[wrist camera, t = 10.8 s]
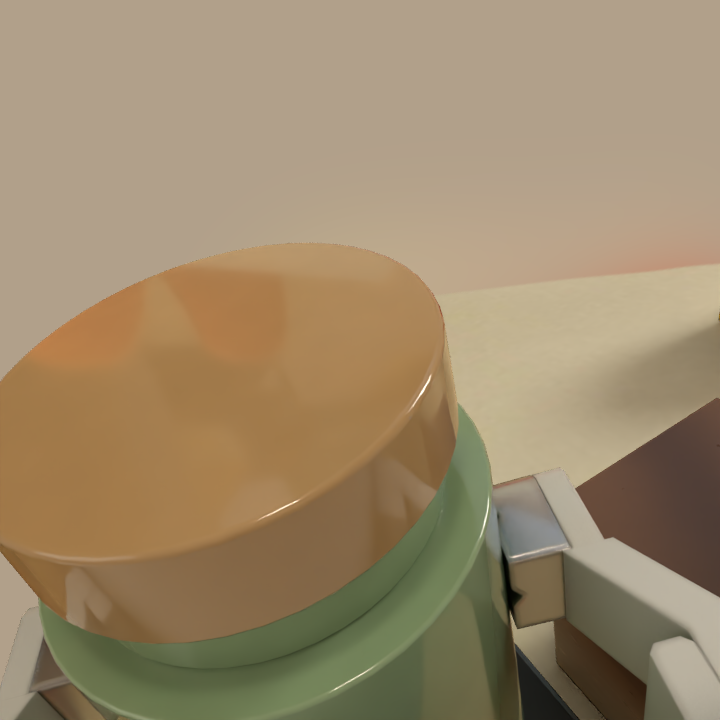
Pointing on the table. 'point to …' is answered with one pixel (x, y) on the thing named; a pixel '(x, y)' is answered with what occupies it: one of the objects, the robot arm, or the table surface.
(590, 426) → the table surface
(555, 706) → the hot plate
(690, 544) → the wooden cubby
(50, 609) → the jar
